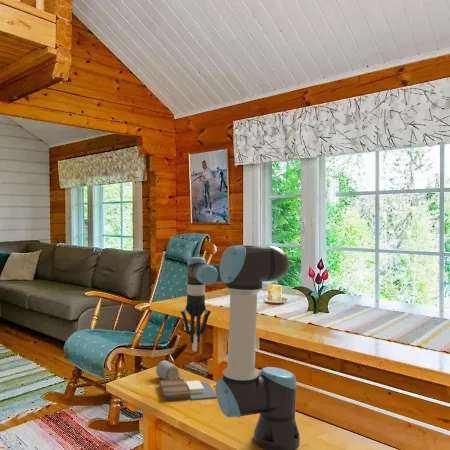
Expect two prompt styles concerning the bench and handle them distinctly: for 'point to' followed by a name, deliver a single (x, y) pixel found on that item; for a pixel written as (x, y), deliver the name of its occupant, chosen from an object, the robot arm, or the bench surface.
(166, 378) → the ceramic mug
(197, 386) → the white rectangular block
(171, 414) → the bench surface
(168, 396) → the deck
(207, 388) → the mat
